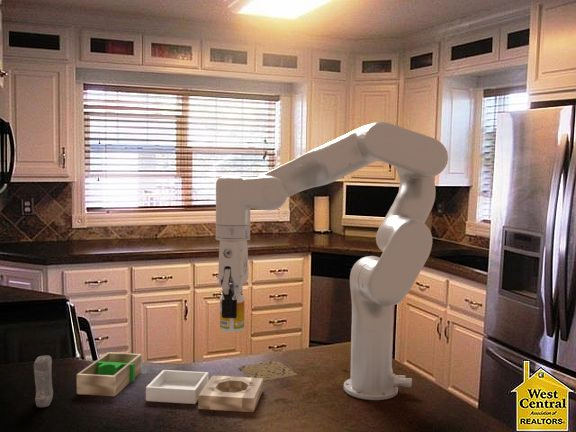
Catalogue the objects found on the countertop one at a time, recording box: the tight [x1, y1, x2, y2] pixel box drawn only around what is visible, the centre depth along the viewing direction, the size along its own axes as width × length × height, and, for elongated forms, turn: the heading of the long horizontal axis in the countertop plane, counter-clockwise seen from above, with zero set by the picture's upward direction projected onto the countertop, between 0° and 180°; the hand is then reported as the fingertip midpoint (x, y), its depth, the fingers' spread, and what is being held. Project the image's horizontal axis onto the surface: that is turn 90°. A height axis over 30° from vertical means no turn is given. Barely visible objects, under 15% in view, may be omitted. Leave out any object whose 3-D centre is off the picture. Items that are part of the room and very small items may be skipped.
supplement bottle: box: [219, 284, 245, 333], centre depth 123 cm, size 5×5×10 cm
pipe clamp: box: [91, 360, 136, 383], centre depth 134 cm, size 10×4×4 cm, turn 81°
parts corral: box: [76, 351, 143, 397], centre depth 134 cm, size 9×16×4 cm, turn 173°
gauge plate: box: [197, 375, 264, 413], centre depth 124 cm, size 12×12×3 cm
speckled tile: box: [237, 360, 298, 382], centre depth 143 cm, size 12×12×1 cm
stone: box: [33, 354, 54, 408], centre depth 121 cm, size 3×6×10 cm, turn 13°
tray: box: [145, 369, 210, 405], centre depth 128 cm, size 11×11×3 cm
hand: (232, 313), depth 123 cm, fingers closed on supplement bottle, 5 cm apart
